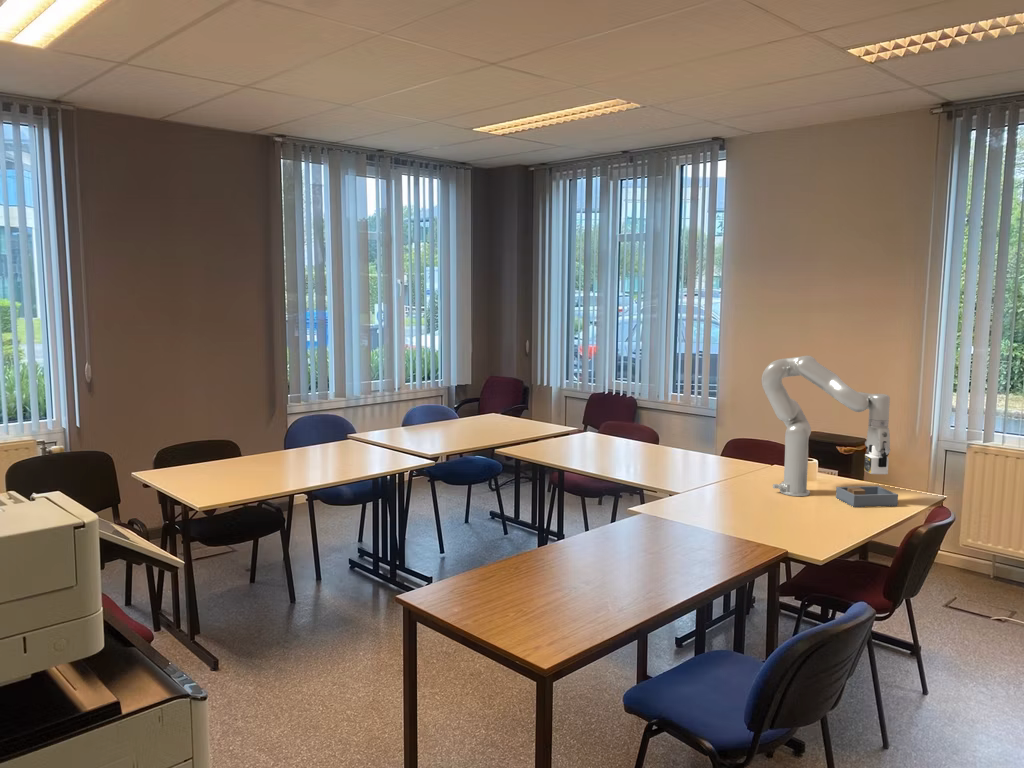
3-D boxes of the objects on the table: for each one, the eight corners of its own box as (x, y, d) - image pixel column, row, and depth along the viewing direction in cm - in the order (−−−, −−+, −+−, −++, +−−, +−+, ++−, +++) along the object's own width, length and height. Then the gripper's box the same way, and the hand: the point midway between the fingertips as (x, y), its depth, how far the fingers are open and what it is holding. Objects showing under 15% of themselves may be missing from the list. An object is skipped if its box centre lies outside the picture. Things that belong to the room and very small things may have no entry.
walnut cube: (864, 502, 306) (865, 490, 306) (853, 502, 306) (854, 490, 306) (858, 498, 311) (858, 487, 311) (847, 499, 311) (847, 487, 310)
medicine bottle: (863, 470, 312) (865, 442, 311) (881, 470, 311) (882, 442, 310) (870, 474, 305) (871, 445, 303) (888, 474, 304) (889, 446, 303)
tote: (853, 507, 301) (854, 495, 301) (835, 498, 315) (836, 487, 315) (897, 506, 303) (898, 494, 302) (877, 497, 317) (878, 486, 316)
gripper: (899, 426, 297) (897, 469, 299) (874, 420, 315) (872, 460, 317) (882, 427, 297) (879, 469, 299) (858, 420, 314) (856, 460, 316)
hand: (876, 464), depth 308 cm, fingers closed on medicine bottle, 7 cm apart
